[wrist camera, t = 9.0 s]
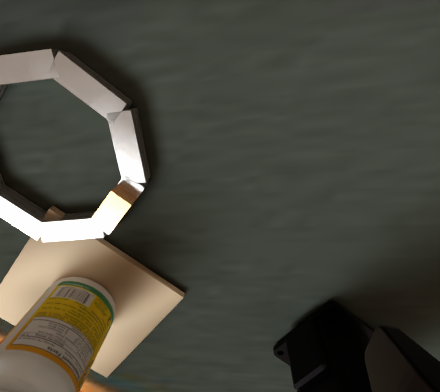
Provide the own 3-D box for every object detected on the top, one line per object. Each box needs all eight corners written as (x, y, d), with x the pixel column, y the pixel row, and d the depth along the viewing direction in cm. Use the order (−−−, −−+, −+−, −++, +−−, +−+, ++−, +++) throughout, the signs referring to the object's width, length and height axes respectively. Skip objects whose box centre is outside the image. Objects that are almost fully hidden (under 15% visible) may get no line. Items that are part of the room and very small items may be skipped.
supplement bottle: (92, 264, 22) (-6, 395, 13) (131, 319, 24) (67, 468, 15) (32, 288, 23) (-97, 424, 14) (73, 339, 25) (-18, 489, 16)
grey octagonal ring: (181, 139, 19) (174, 147, 17) (90, 259, 23) (75, 278, 20) (12, 7, 17) (-19, -1, 15) (-59, 163, 20) (-91, 174, 18)
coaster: (184, 293, 23) (183, 297, 23) (108, 372, 27) (106, 377, 26) (53, 205, 21) (49, 208, 21) (-11, 304, 25) (-16, 308, 24)
